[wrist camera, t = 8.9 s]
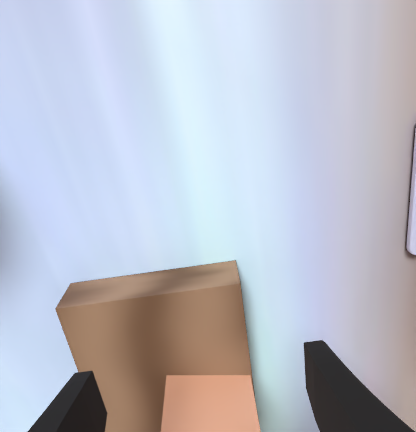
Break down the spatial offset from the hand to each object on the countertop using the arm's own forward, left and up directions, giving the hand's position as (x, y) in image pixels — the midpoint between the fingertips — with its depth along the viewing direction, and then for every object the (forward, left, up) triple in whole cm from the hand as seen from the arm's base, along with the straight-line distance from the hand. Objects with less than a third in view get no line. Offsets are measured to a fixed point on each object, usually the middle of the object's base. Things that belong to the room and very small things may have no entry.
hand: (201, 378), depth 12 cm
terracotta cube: (+1, +10, -7) cm, 12 cm away
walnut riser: (+3, +8, -9) cm, 13 cm away
